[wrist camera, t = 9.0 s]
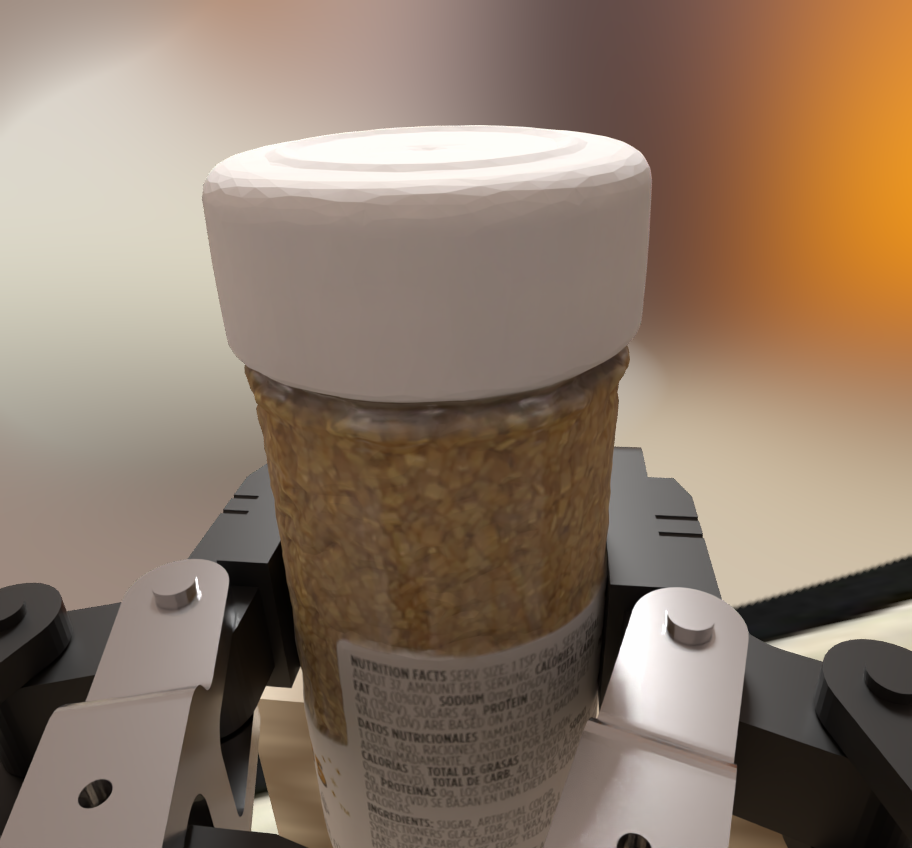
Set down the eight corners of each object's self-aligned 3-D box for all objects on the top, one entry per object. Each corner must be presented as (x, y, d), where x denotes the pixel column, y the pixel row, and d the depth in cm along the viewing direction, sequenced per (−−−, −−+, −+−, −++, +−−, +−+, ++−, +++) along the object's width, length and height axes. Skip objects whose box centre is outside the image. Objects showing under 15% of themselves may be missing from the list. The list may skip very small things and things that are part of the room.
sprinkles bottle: (362, 790, 16) (267, 125, 9) (572, 793, 15) (618, 114, 9) (317, 1048, 12) (100, 183, 5) (602, 1058, 11) (717, 166, 5)
